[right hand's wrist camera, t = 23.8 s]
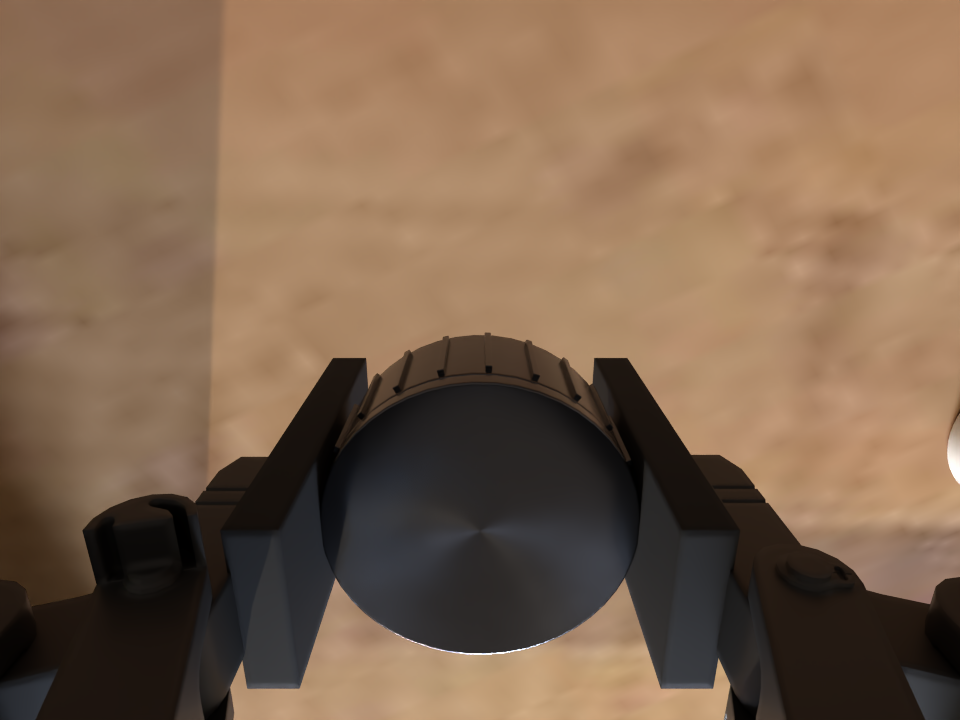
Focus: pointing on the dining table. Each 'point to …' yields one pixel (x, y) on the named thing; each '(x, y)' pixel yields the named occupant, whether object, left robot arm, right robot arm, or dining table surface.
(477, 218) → the dining table surface
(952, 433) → the cream cylindrical bottle
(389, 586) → the lid
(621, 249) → the dining table surface
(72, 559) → the dining table surface
